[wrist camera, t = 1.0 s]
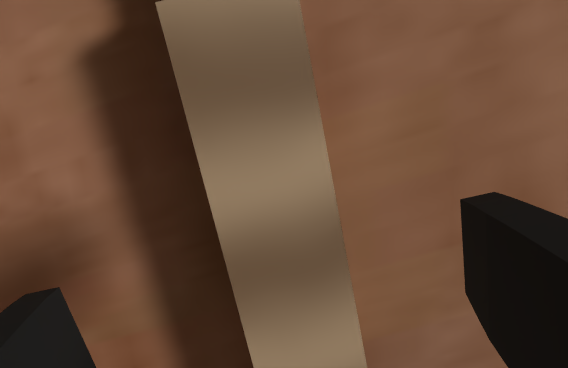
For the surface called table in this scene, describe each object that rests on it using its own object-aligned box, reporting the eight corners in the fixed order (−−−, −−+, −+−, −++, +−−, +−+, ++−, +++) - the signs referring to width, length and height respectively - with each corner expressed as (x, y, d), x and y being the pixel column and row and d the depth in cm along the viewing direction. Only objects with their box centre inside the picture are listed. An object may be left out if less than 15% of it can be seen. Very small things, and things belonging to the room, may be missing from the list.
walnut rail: (364, 387, 25) (384, 458, 21) (279, 405, 25) (283, 478, 21) (262, -151, 17) (263, -193, 14) (142, -124, 18) (111, -159, 14)
